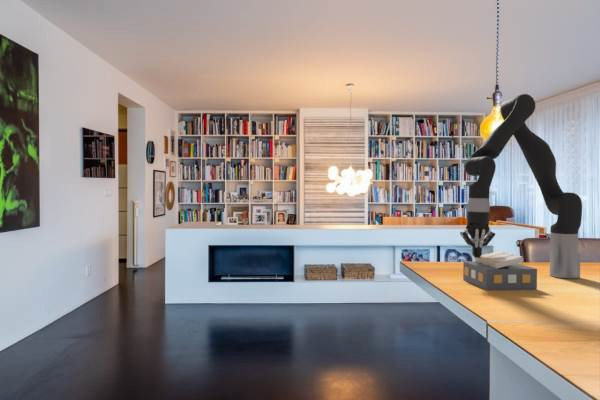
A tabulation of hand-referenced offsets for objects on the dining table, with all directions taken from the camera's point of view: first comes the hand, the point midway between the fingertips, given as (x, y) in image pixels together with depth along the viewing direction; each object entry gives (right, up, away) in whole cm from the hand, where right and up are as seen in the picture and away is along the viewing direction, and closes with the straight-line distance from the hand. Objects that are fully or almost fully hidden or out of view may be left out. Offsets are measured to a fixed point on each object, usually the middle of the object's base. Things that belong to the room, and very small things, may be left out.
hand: (476, 257), depth 149 cm
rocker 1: (+6, -1, -5) cm, 7 cm away
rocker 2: (+6, -1, -10) cm, 11 cm away
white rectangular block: (+5, -1, 0) cm, 6 cm away
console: (+6, -9, -4) cm, 12 cm away
